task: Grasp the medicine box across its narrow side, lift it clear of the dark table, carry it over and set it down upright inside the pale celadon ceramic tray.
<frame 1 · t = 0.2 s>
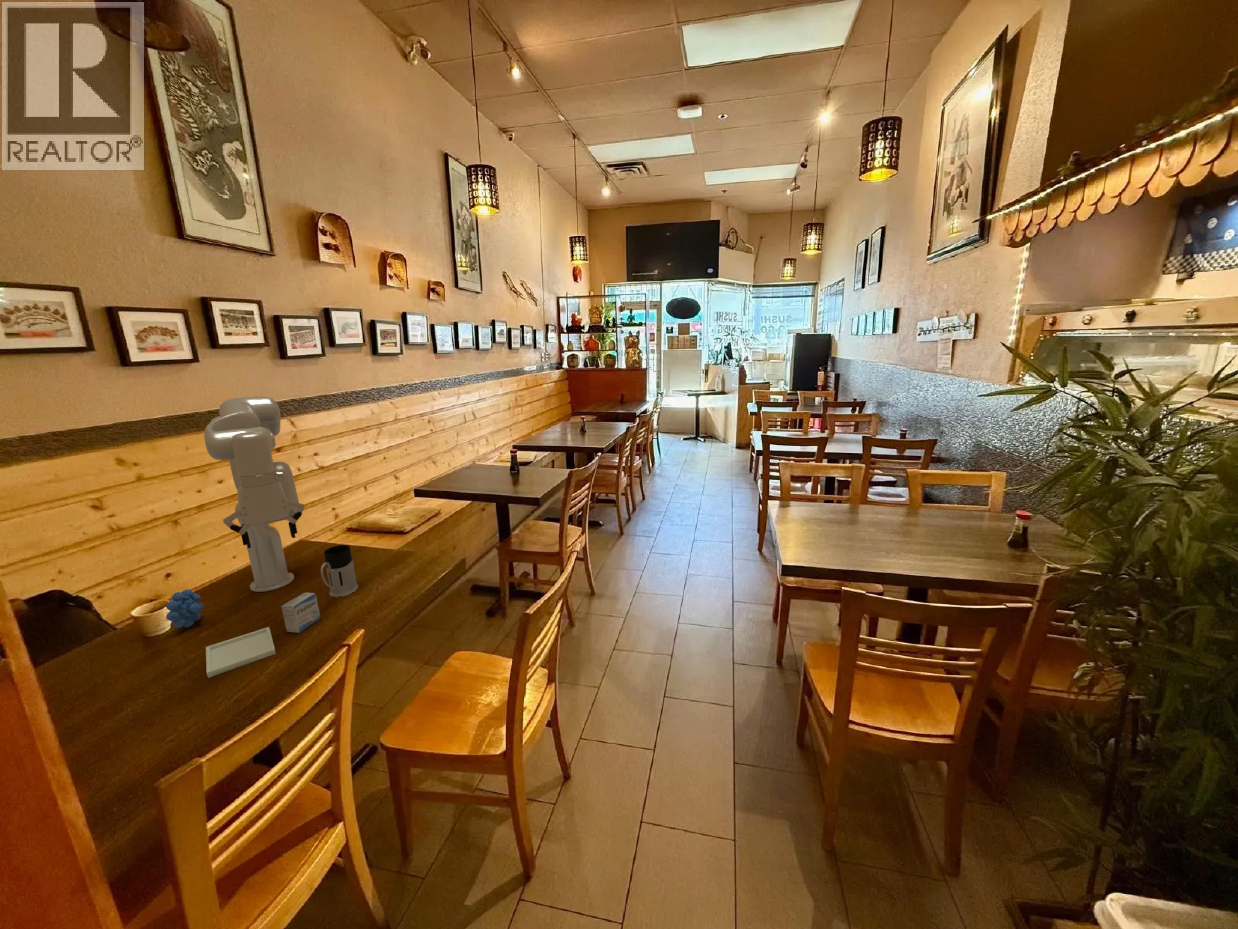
hand: (271, 541, 125), 30 cm above the table, fingers open, 9 cm apart
tray: (241, 653, 127), on the table
medicine box: (304, 625, 139), on the table
grapes: (193, 626, 140), on the table
glass holder: (340, 595, 157), on the table
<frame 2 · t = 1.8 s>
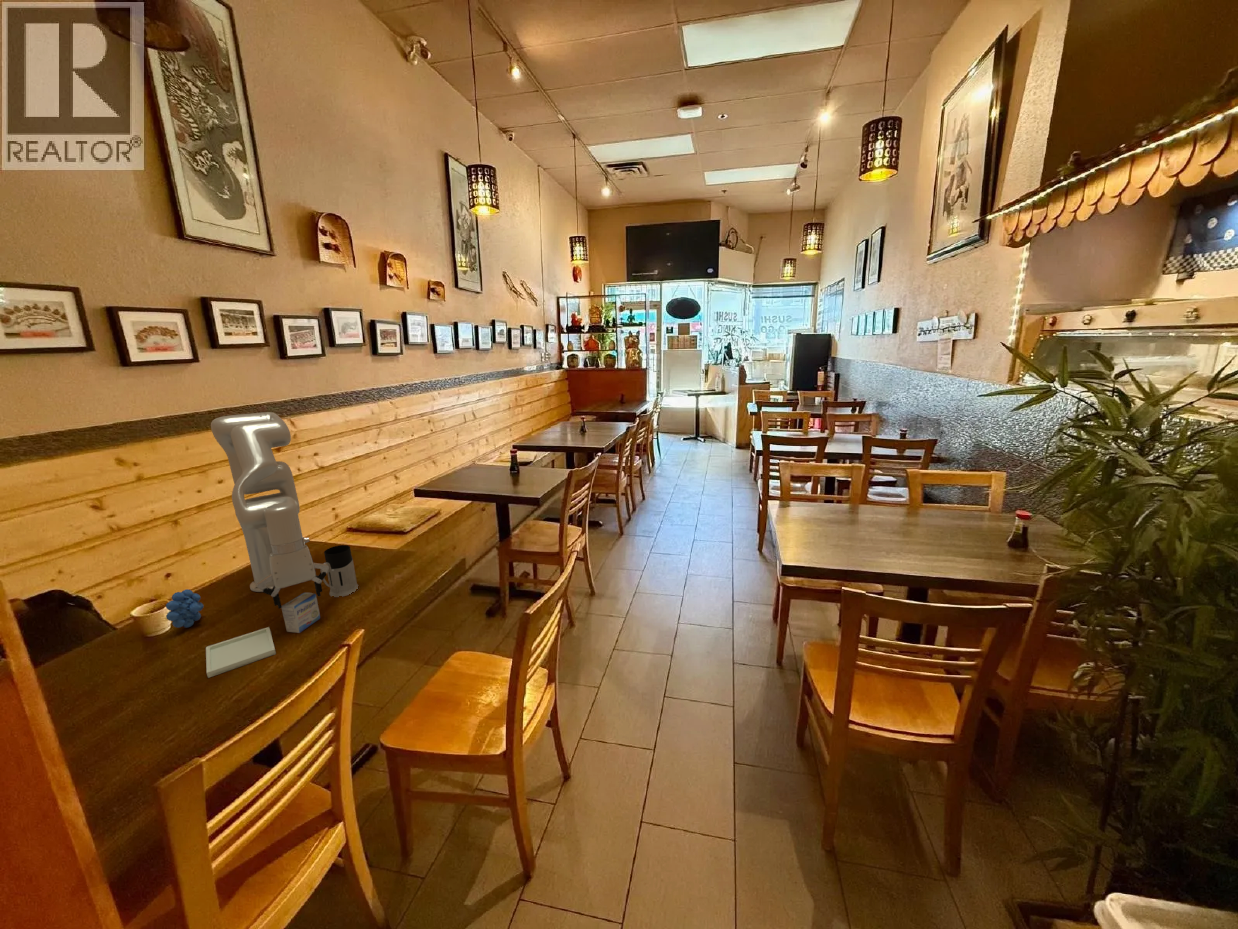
hand: (299, 600, 137), 8 cm above the table, fingers open, 9 cm apart
medicine box: (304, 625, 139), on the table, touching gripper
everything else where it was.
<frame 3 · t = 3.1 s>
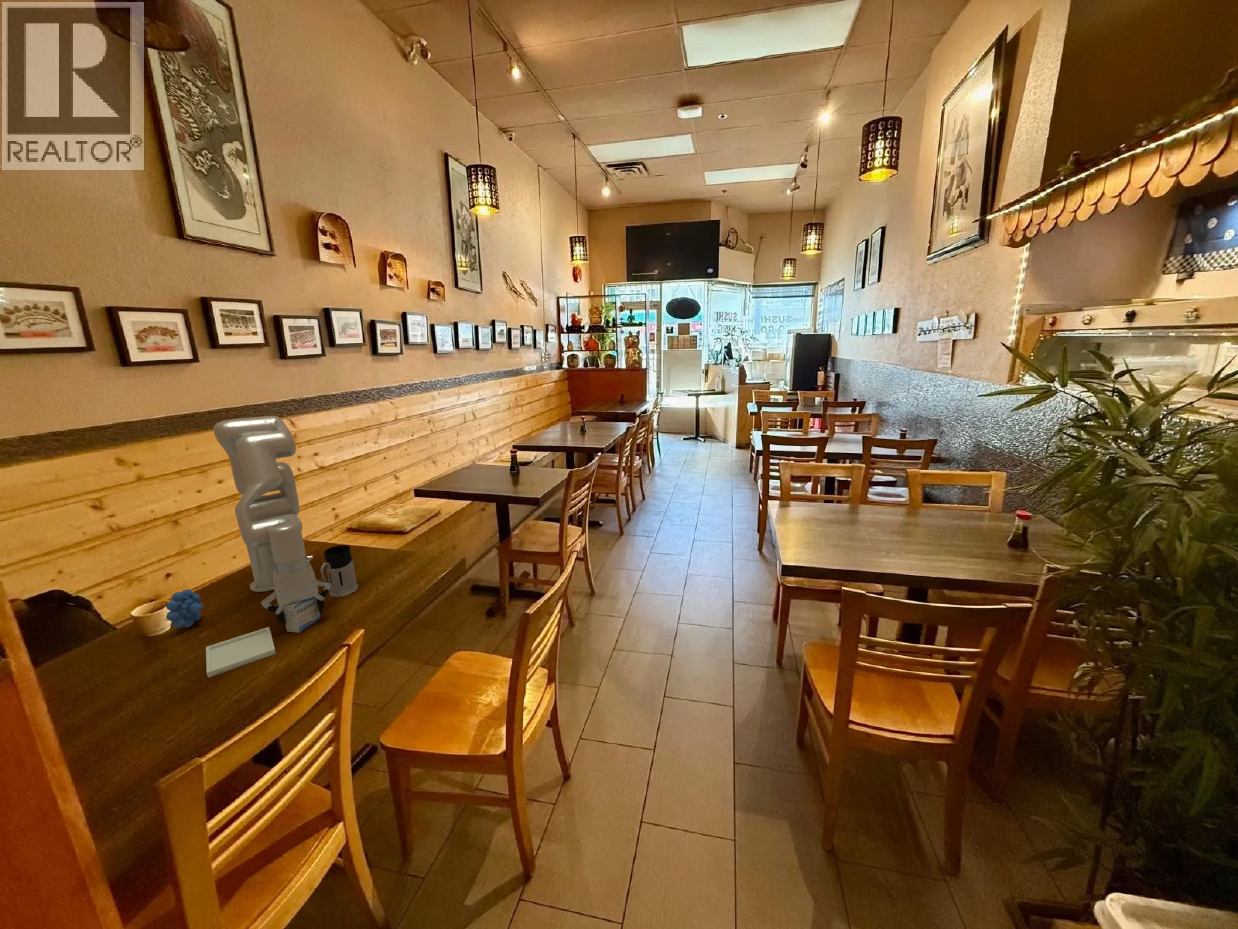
hand: (302, 617, 139), 3 cm above the table, fingers closed on medicine box, 9 cm apart
medicine box: (304, 625, 139), on the table, touching gripper
everything else where it was.
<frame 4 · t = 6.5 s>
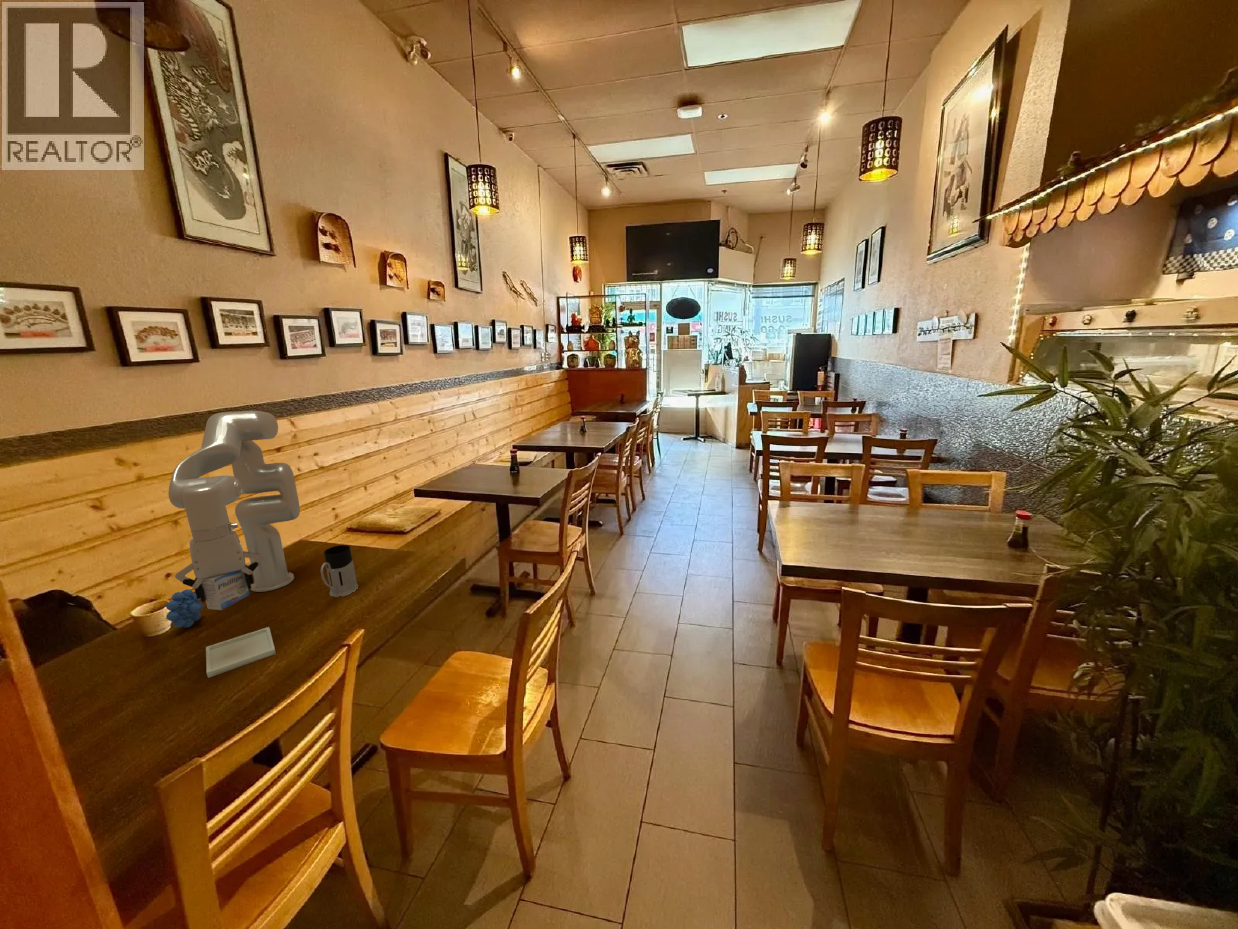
hand: (227, 593, 123), 18 cm above the table, fingers closed on medicine box, 9 cm apart
medicine box: (229, 602, 123), point 15 cm above the table, touching gripper
everything else where it was.
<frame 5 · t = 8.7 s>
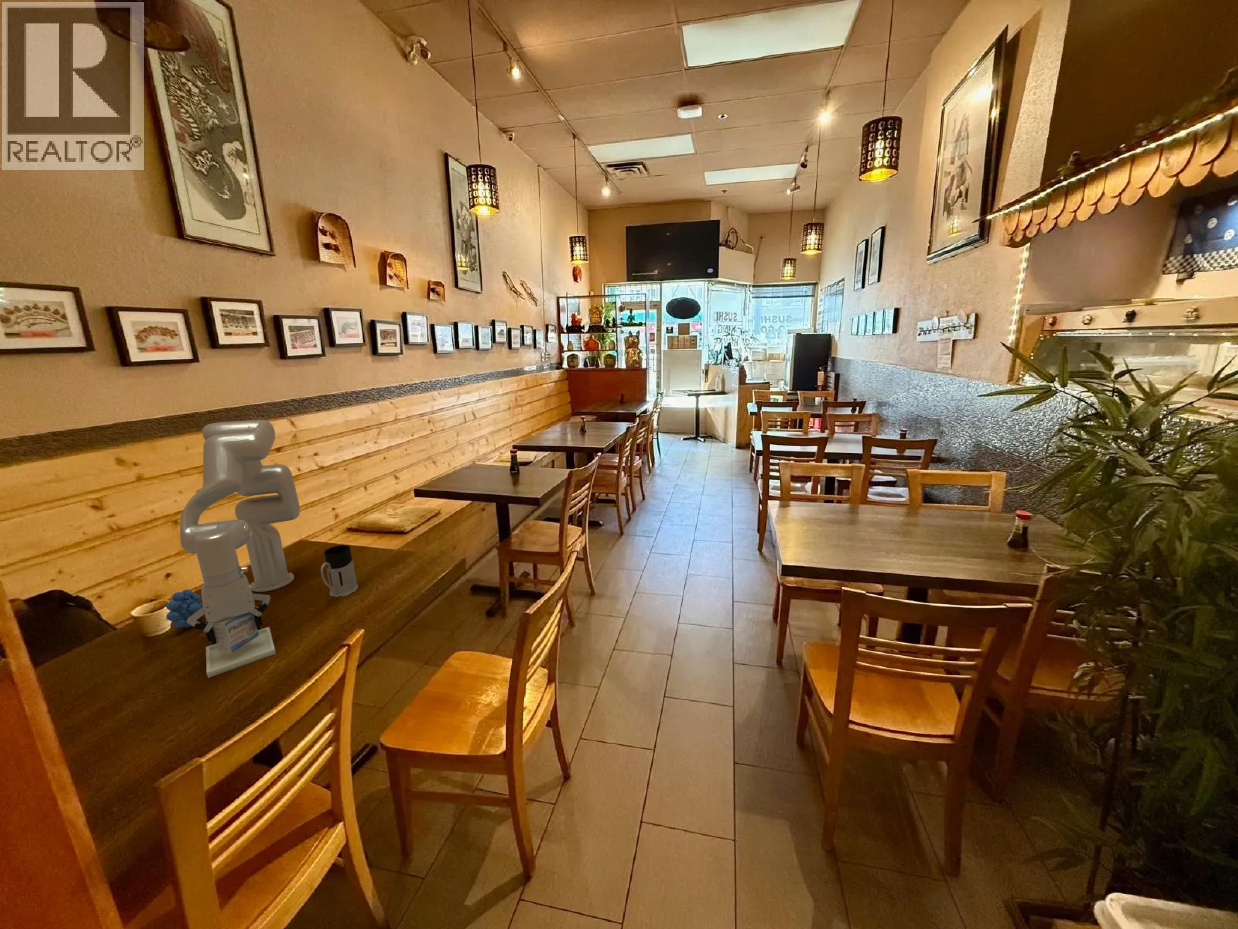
hand: (237, 635, 126), 6 cm above the table, fingers closed on medicine box, 9 cm apart
medicine box: (239, 644, 126), point 3 cm above the table, touching gripper
everything else where it was.
when the fingers open (5 cm above the table, at t = 9.9 s): medicine box drops 2 cm, resting on tray.
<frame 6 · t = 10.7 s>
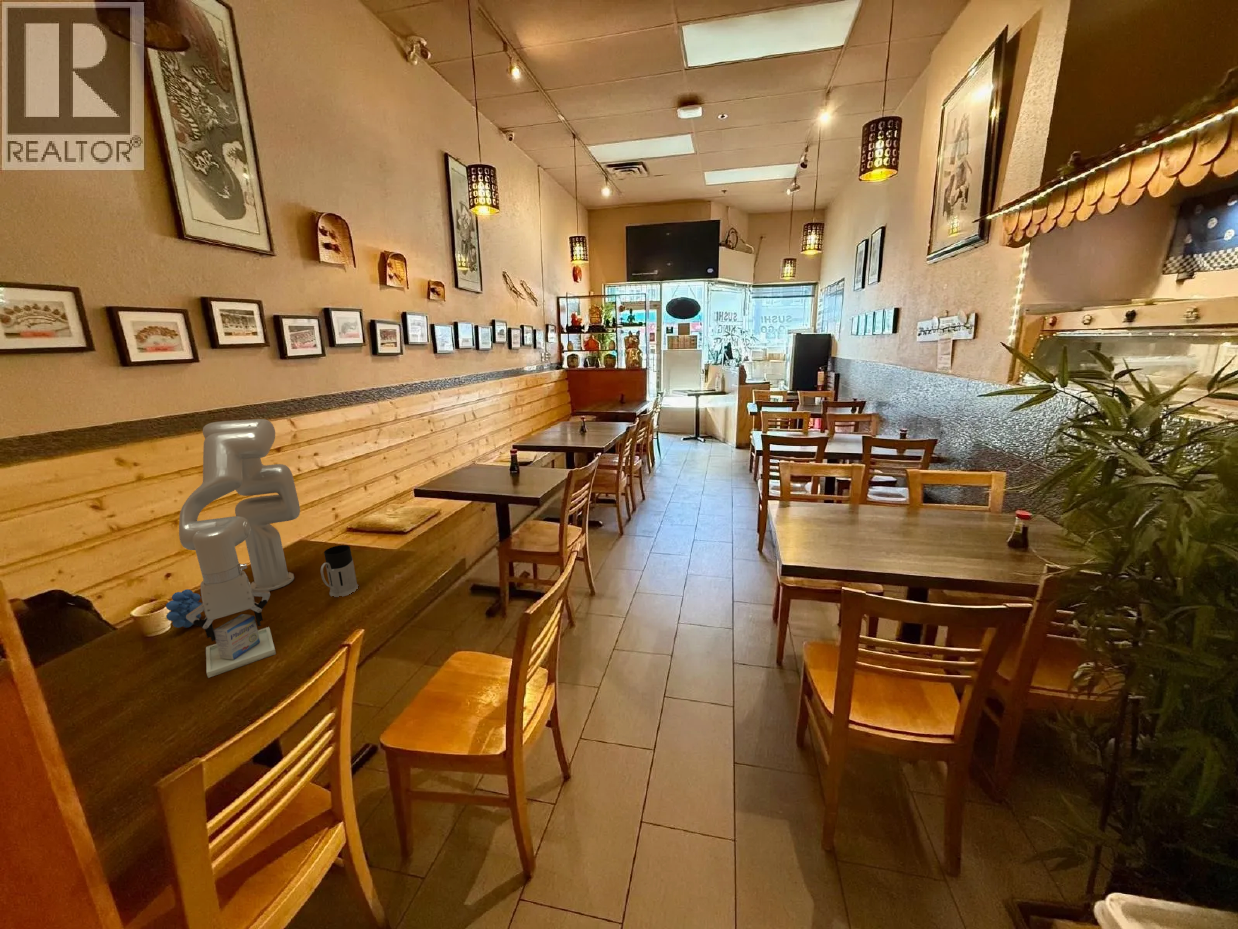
hand: (236, 631, 126), 6 cm above the table, fingers open, 9 cm apart
medicine box: (240, 651, 127), resting on tray, touching gripper
everything else where it was.
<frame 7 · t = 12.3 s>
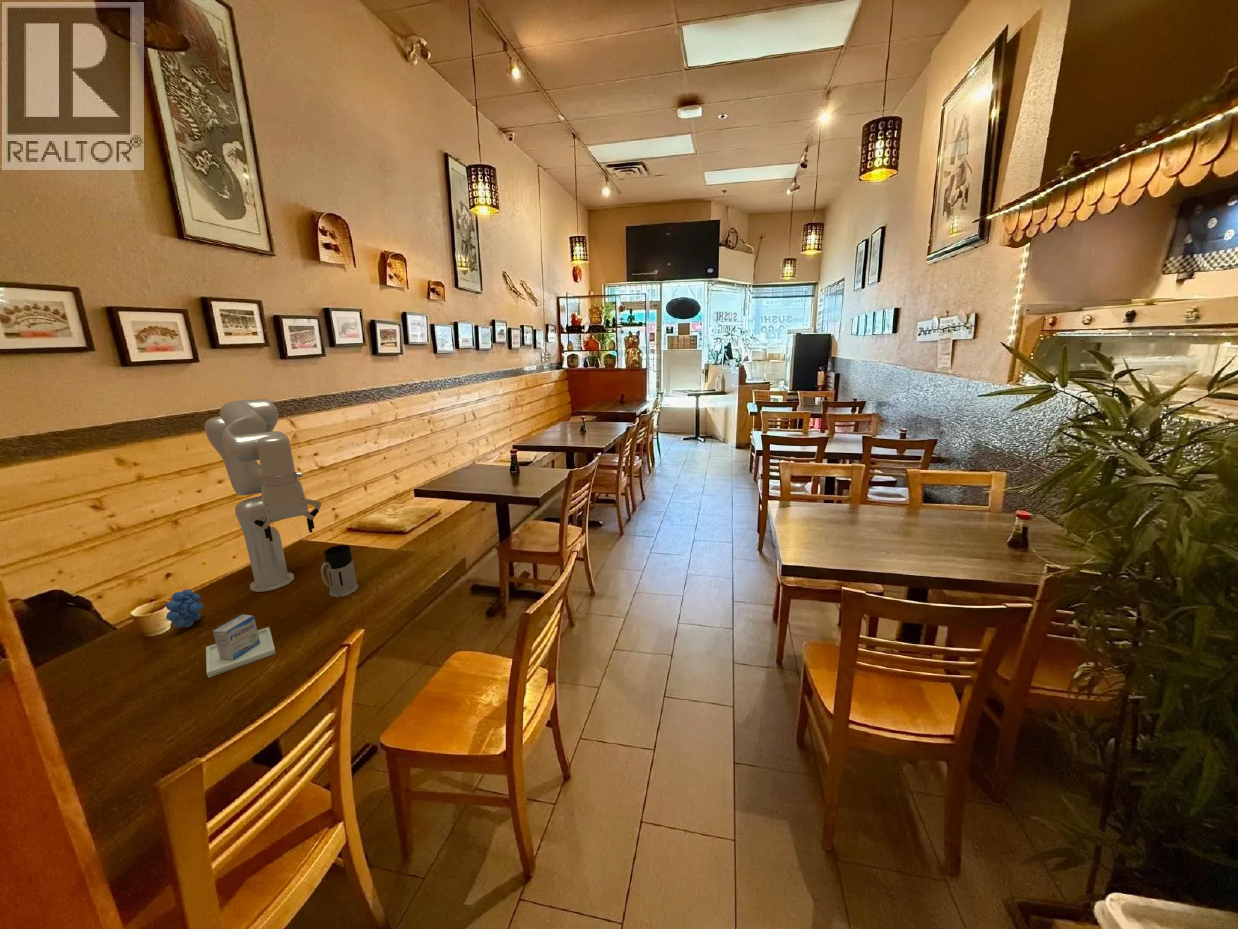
hand: (291, 535, 137), 27 cm above the table, fingers open, 9 cm apart
medicine box: (240, 651, 127), resting on tray
everything else where it was.
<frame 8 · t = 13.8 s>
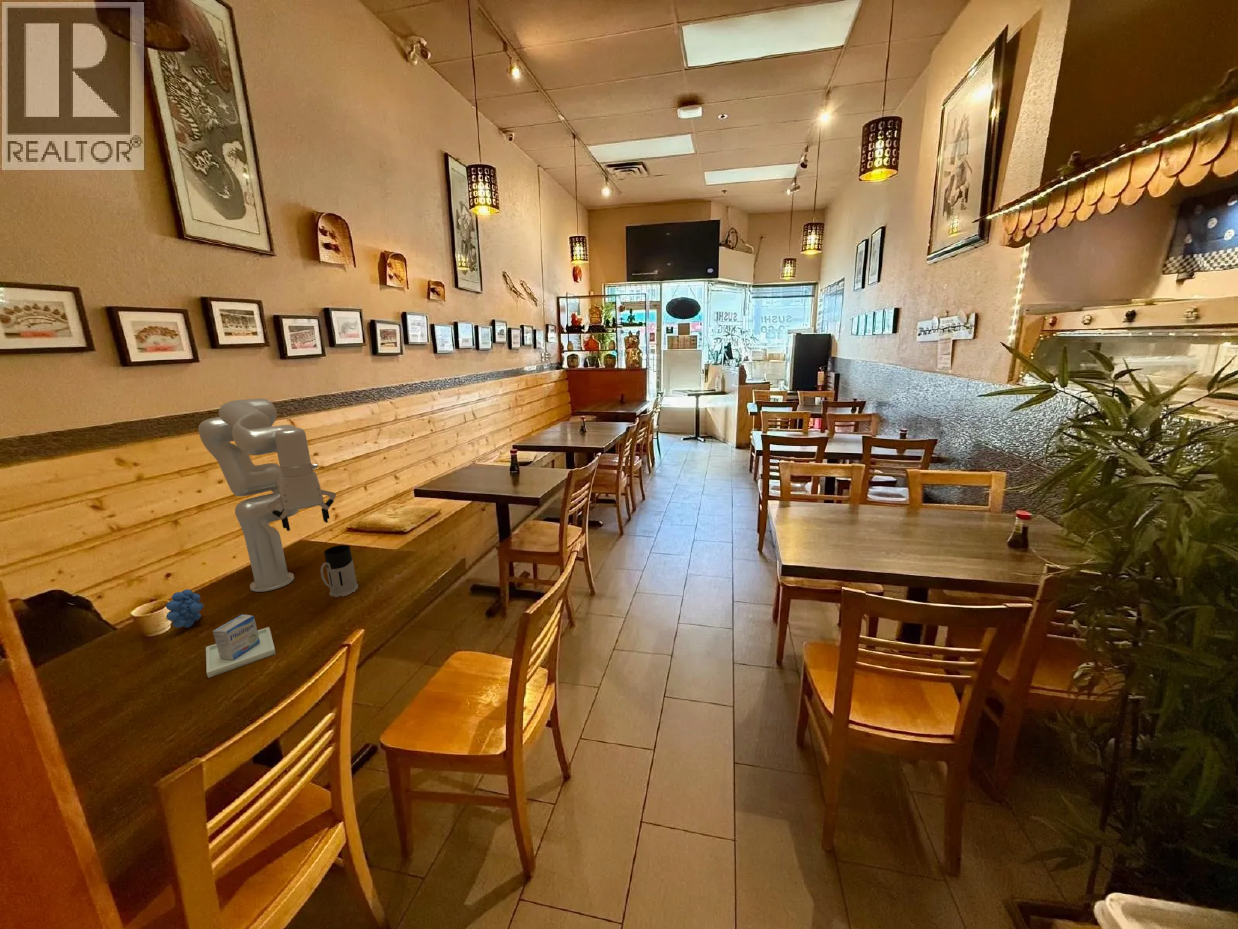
hand: (307, 525, 141), 28 cm above the table, fingers open, 9 cm apart
nothing on the table moved.
at the end: medicine box inside the target area on the tray (0.2 cm from its centre), point 0.4 cm above the tray's base; medicine box tilted 0°; the gripper is holding nothing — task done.
